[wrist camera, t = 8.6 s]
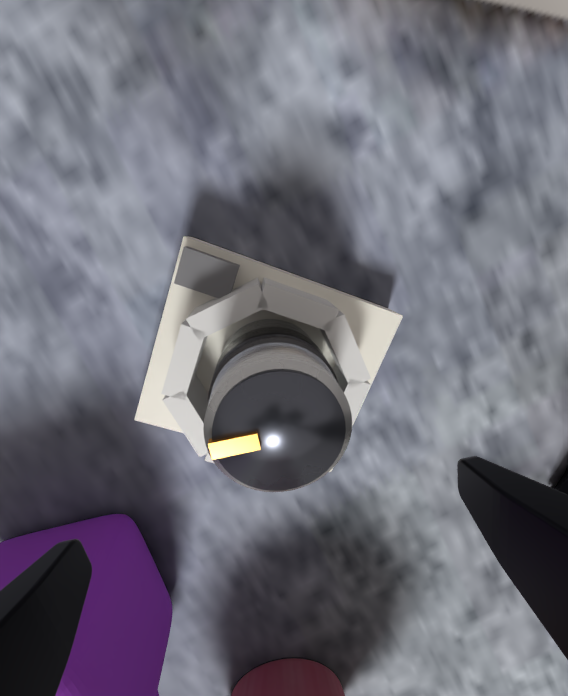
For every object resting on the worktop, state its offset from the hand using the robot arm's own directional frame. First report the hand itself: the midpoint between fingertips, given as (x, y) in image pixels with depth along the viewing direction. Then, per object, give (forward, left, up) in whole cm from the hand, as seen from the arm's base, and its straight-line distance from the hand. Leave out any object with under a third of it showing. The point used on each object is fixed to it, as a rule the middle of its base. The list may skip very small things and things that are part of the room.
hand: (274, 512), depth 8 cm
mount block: (0, 0, -12) cm, 12 cm away
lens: (0, 0, -10) cm, 10 cm away
